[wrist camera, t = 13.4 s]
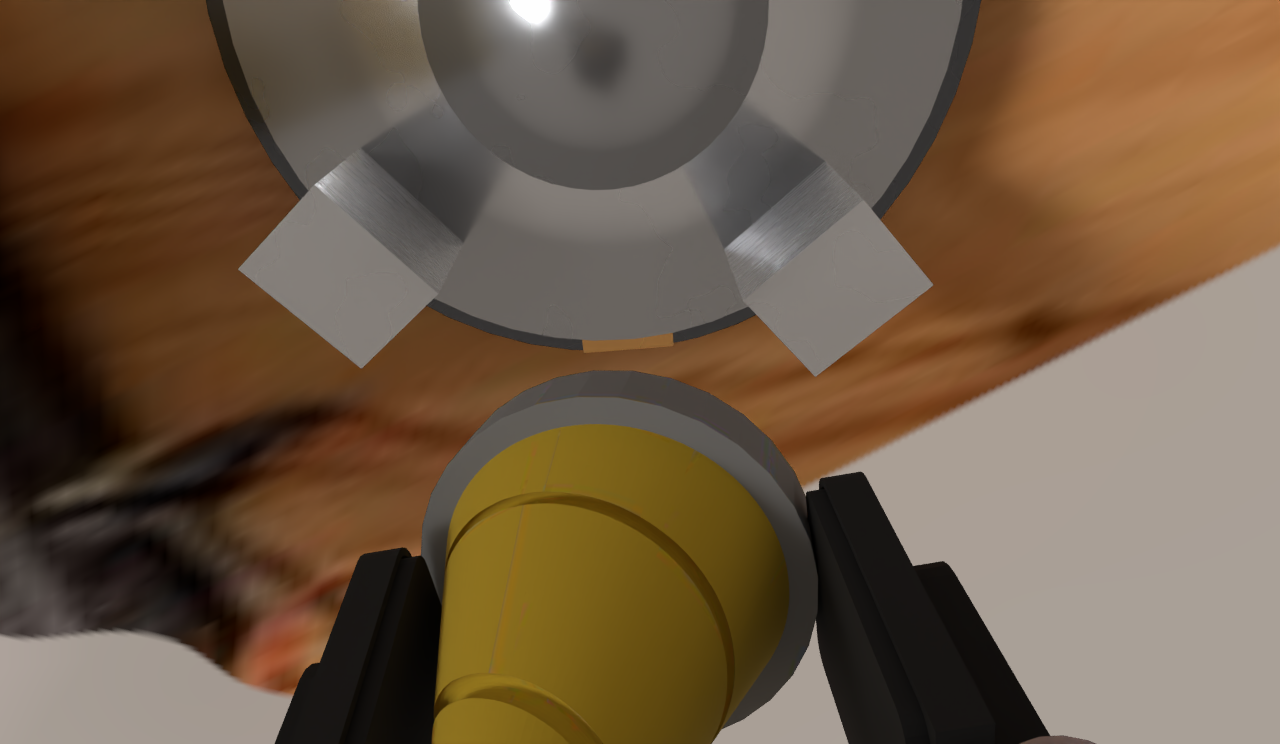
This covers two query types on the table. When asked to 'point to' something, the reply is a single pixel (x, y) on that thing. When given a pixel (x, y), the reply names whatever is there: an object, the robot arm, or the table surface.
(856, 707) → the robot arm
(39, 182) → the table surface
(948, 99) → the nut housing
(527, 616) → the stepped yellow cone
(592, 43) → the steel lathe chuck
